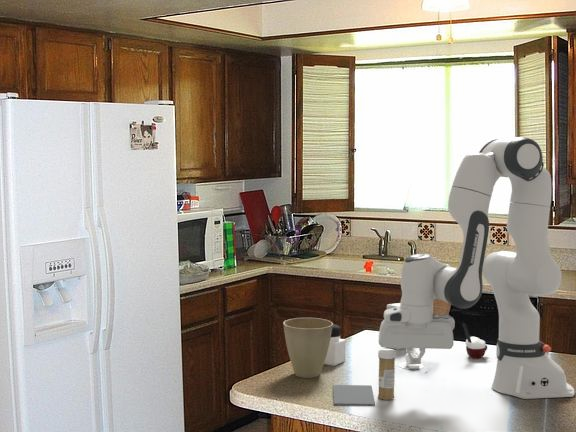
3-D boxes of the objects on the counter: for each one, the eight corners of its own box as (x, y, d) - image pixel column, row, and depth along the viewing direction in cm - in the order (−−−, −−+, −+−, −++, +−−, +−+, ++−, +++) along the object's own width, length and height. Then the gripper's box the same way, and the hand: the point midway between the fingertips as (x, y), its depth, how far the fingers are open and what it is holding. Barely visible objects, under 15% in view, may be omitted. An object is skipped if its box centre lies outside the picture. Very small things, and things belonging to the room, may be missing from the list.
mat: (371, 387, 242) (371, 385, 242) (375, 405, 225) (375, 403, 225) (333, 386, 242) (333, 384, 242) (333, 405, 225) (333, 403, 225)
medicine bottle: (345, 361, 270) (346, 324, 269) (334, 366, 264) (335, 328, 263) (326, 358, 274) (326, 321, 273) (315, 362, 268) (315, 325, 267)
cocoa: (485, 354, 278) (486, 319, 277) (491, 359, 272) (492, 323, 271) (457, 355, 278) (458, 319, 277) (462, 360, 271) (463, 323, 270)
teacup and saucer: (420, 372, 259) (420, 359, 258) (394, 369, 262) (395, 356, 261) (425, 365, 267) (426, 352, 267) (401, 362, 270) (401, 350, 269)
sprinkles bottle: (376, 395, 233) (377, 348, 232) (392, 395, 234) (393, 347, 233) (379, 400, 229) (380, 352, 228) (396, 400, 229) (397, 351, 228)
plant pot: (276, 379, 250) (276, 326, 248) (291, 366, 264) (291, 316, 262) (325, 383, 245) (325, 329, 243) (337, 370, 259) (338, 319, 258)
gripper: (453, 312, 232) (451, 361, 233) (378, 310, 233) (377, 359, 234) (456, 317, 225) (455, 367, 227) (380, 315, 226) (379, 365, 227)
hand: (415, 363), depth 230 cm, fingers closed
